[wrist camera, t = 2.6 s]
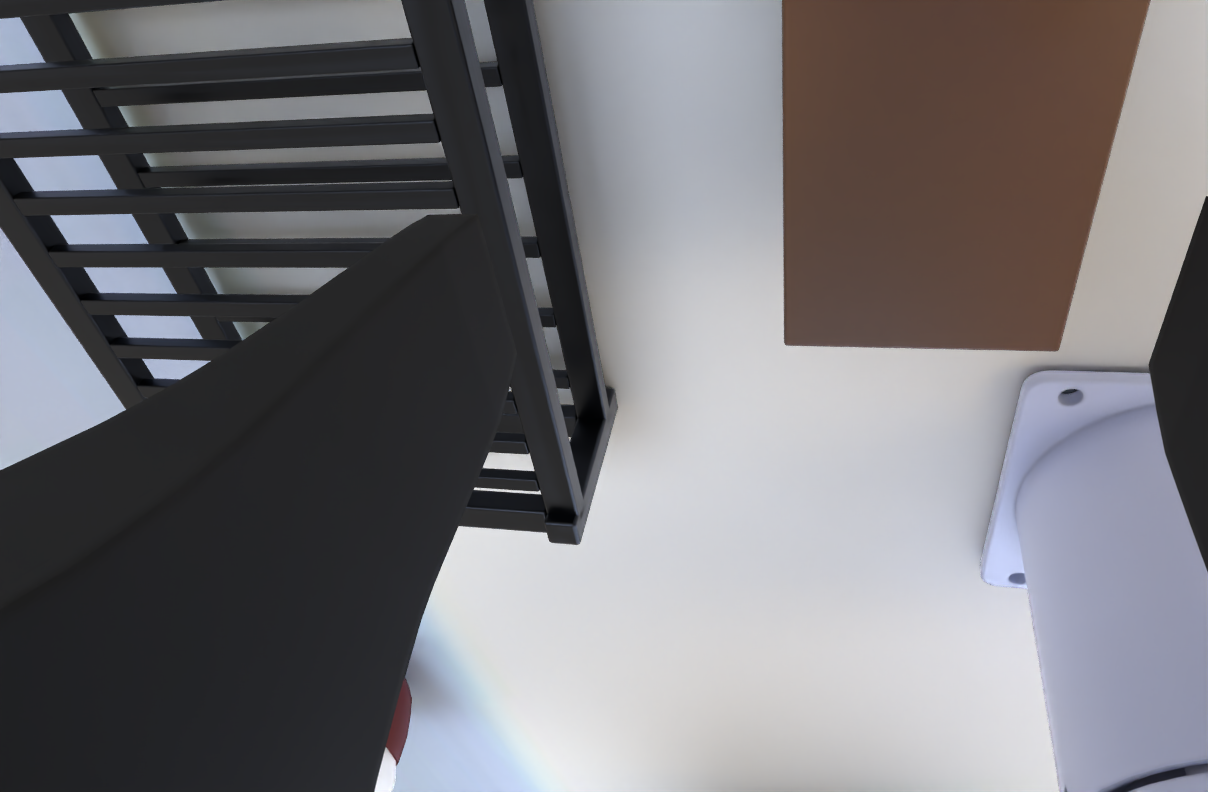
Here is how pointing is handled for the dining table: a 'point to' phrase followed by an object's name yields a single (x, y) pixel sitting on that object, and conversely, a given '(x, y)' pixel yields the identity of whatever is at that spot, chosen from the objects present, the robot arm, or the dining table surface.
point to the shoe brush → (945, 165)
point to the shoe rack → (472, 163)
